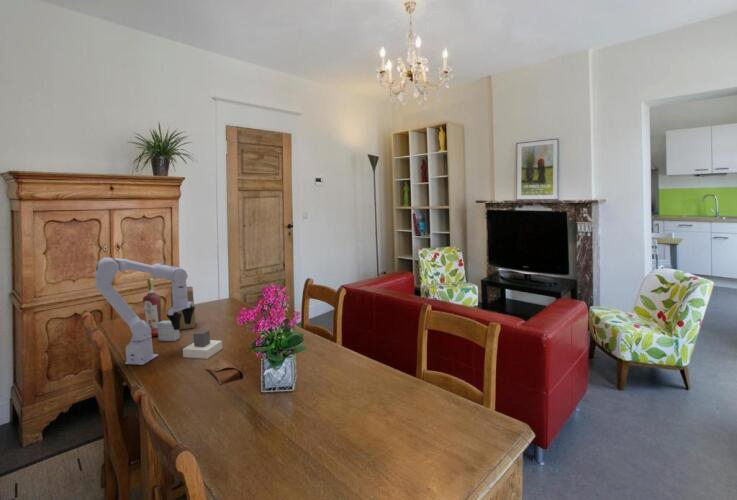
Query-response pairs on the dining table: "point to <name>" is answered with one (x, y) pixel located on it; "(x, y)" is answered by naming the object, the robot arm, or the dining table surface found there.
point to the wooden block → (182, 322)
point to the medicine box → (167, 331)
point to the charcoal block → (201, 338)
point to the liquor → (152, 308)
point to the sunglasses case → (224, 371)
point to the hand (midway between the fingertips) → (182, 326)
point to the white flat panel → (202, 350)
